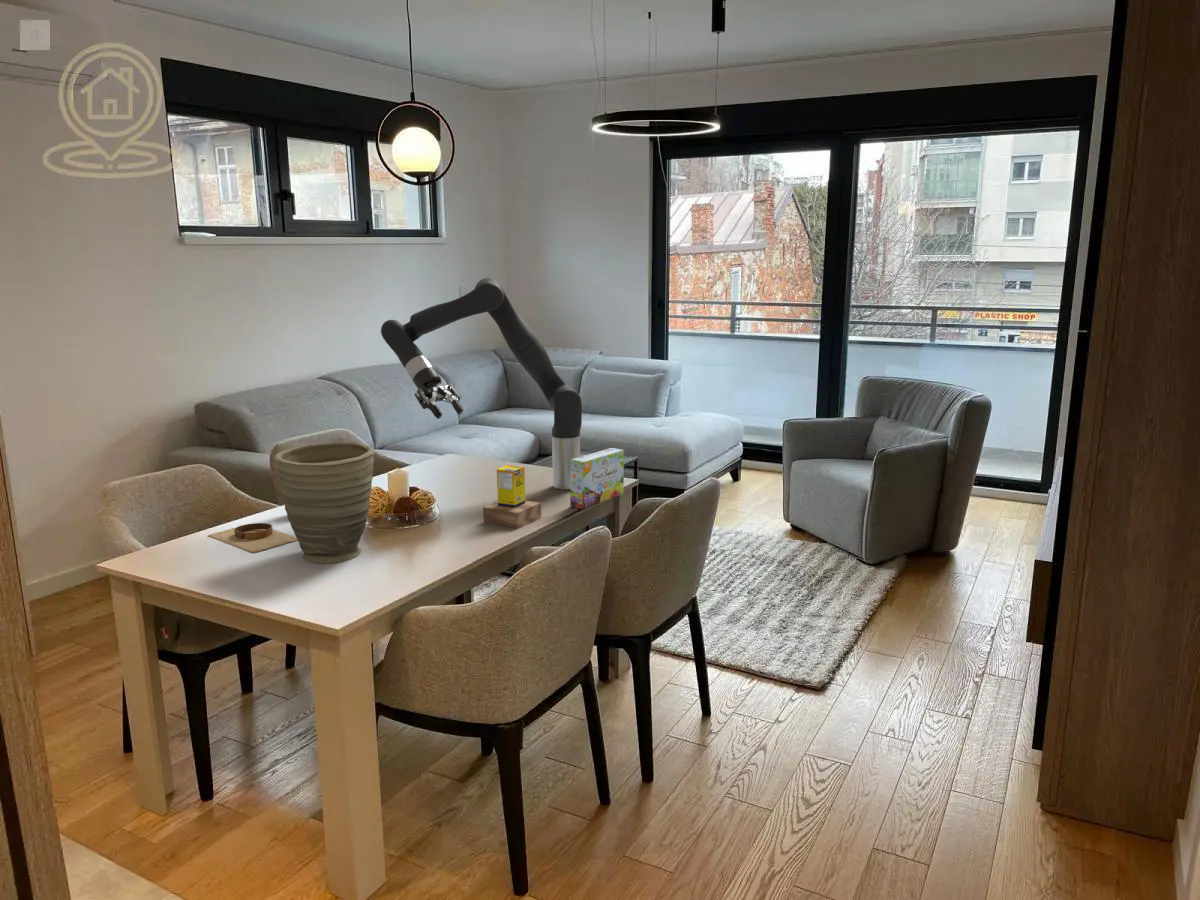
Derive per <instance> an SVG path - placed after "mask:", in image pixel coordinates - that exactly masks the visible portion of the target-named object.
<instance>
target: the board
mask: <svg viewBox="0 0 1200 900" xmlns="http://www.w3.org/2000/svg"><path fill="white" fill-rule="evenodd" d="M207 537H208V538H211V539H213V540H217V541H219V542H221V543H224V544H227V545H230V546H232V547H234V548H238V549H239V550H242V551H245V552H248V553H250V554H253V555H254V554H259V553H262V552H264V551H265V552H266V551H268V550H272V549H274V548H278V547H281V546H285V545H288V544H293V543H296V542H299V541H298V539H297V537H296V535H295V536H294V535H292V534H289V533H288V534H287V533H286V532H282V531H280V530H276V529H273V525H272V524H270V523H267V522H266V523H265V522H253V523H248V524H242V525H239V526H237V527H233V528H229V529H225V530H222V531H218V532H214V533H211V534H208V535H207Z"/></svg>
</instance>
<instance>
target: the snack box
mask: <svg viewBox="0 0 1200 900" xmlns="http://www.w3.org/2000/svg"><path fill="white" fill-rule="evenodd" d="M624 466H625V449H620V448H613V447H609V448H606V449H603V450H599V451H596V452H593V453H589V454H585V455H580V457H578V458H574V459H571V460H570V489H569V490H570V491H569V495H570V497H569V499H570V501H569V502H570V503H569V504H570V505H569V506H570V507H573V508H577V509H580V510H585V509H586V508H589V507H592V506H595V505H598V504H600V503H604V502H606V501H609V500H611V499H614V498H618V497H620V496H623V495H624V481H625V480H624V478H625V477H624V476H625V475H624V469H625V467H624Z"/></svg>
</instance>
